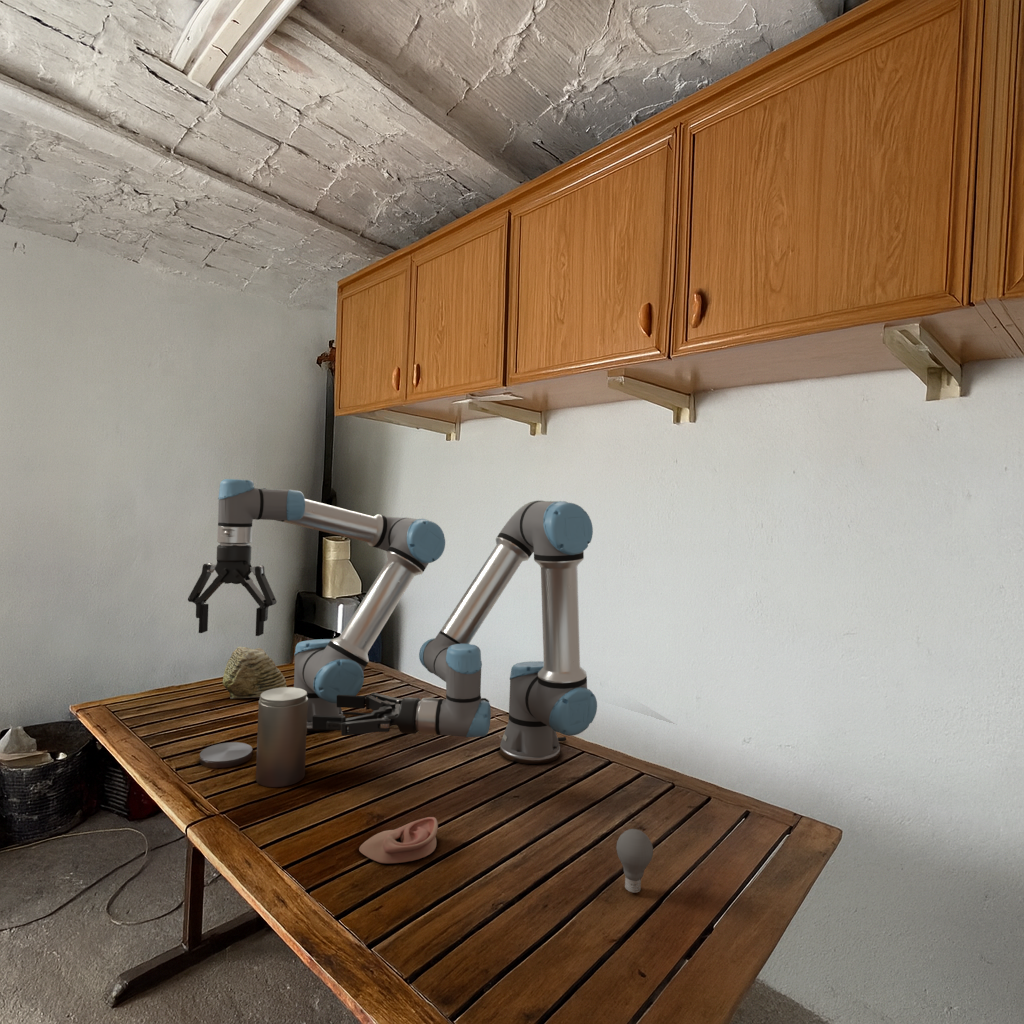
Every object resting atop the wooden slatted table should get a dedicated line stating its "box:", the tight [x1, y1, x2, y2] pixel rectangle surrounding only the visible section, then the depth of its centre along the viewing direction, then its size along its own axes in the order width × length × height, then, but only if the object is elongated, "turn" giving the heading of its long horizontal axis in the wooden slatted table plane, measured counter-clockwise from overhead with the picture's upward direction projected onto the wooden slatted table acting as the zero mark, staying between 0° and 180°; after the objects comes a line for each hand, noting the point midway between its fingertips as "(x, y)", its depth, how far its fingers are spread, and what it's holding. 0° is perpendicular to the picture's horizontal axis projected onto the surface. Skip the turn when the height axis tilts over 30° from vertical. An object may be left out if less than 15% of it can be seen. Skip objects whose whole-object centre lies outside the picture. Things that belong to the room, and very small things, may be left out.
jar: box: [255, 686, 308, 788], centre depth 142 cm, size 10×10×19 cm
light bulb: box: [615, 828, 654, 894], centre depth 106 cm, size 6×6×10 cm
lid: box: [199, 741, 253, 769], centre depth 151 cm, size 11×11×2 cm
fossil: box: [222, 646, 288, 699], centre depth 198 cm, size 9×18×15 cm, turn 132°
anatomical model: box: [358, 816, 439, 864], centre depth 116 cm, size 13×4×12 cm
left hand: (231, 633), depth 150 cm, fingers open, 13 cm apart
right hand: (325, 711), depth 141 cm, fingers open, 13 cm apart
